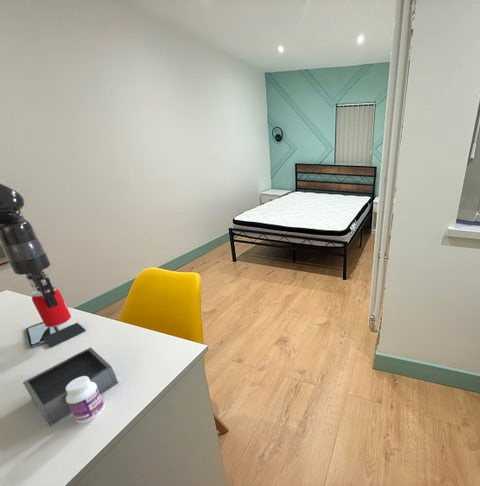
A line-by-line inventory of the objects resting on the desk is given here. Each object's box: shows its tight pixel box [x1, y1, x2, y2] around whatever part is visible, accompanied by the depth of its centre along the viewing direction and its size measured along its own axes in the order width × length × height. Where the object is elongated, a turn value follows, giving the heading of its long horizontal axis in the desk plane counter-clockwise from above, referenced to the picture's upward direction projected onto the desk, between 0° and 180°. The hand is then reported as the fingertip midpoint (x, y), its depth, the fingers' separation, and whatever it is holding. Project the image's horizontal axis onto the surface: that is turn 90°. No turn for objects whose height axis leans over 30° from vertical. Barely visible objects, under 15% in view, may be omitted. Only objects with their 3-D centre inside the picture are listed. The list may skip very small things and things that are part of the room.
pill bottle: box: [66, 376, 106, 424], centre depth 61 cm, size 5×5×10 cm
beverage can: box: [31, 286, 72, 328], centre depth 83 cm, size 6×6×12 cm
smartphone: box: [24, 321, 60, 349], centre depth 89 cm, size 7×1×15 cm
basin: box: [22, 347, 119, 427], centre depth 67 cm, size 14×14×6 cm
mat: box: [43, 322, 87, 348], centre depth 87 cm, size 9×7×1 cm
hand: (49, 302), depth 83 cm, fingers closed on beverage can, 6 cm apart
